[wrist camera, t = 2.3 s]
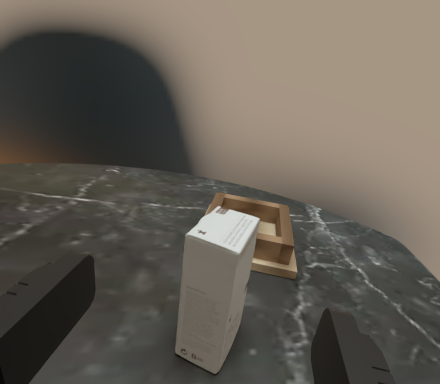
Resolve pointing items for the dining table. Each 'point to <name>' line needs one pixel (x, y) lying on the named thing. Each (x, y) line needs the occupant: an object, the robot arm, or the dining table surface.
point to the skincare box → (214, 285)
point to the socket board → (266, 233)
